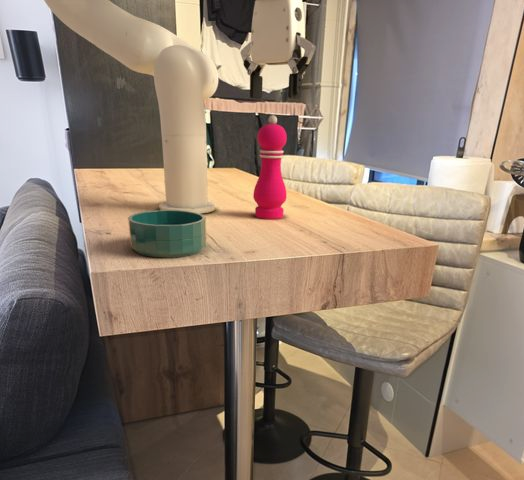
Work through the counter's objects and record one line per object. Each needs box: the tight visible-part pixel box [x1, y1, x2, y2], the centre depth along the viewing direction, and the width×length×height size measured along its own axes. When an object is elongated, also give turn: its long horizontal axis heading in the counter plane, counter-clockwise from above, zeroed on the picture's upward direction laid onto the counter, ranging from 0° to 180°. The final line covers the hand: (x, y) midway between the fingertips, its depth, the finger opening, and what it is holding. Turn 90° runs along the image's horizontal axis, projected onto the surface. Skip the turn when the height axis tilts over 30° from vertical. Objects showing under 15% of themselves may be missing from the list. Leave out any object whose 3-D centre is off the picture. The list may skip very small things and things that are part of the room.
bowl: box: [127, 209, 208, 259], centre depth 74 cm, size 12×12×5 cm
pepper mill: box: [252, 114, 288, 220], centre depth 96 cm, size 7×7×20 cm
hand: (274, 98), depth 90 cm, fingers open, 9 cm apart
